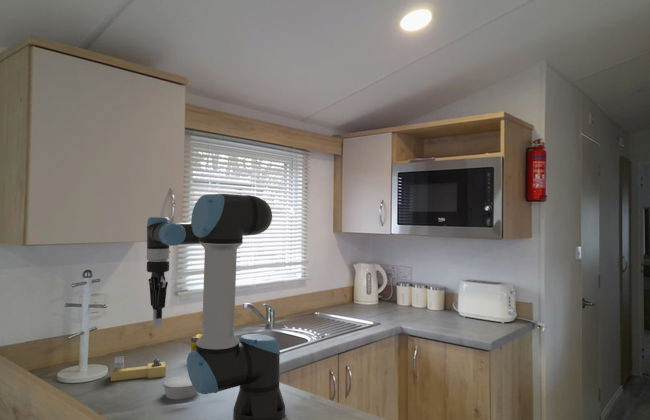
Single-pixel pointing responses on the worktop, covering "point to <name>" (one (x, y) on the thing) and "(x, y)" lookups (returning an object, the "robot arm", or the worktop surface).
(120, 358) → the keeper
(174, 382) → the ramekin
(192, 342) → the supplement box
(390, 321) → the worktop surface
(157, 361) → the pintle post
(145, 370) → the link
